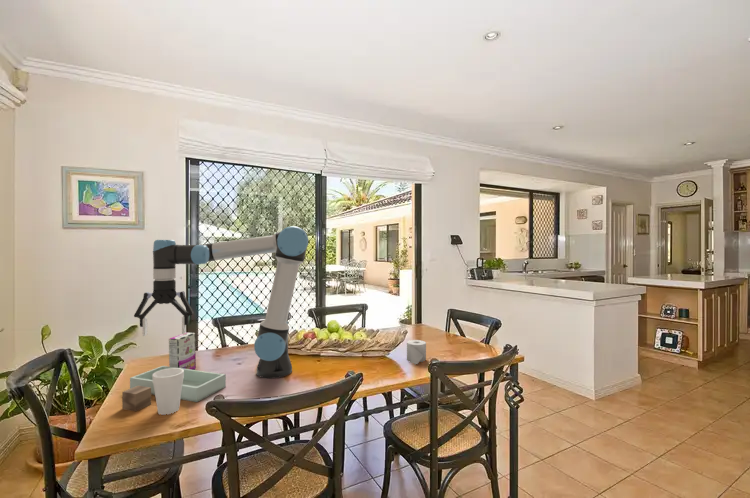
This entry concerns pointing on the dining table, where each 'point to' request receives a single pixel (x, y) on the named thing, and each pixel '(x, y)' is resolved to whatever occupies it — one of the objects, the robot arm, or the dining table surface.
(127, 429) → the dining table surface
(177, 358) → the candy bar box
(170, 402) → the foam cup
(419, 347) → the toilet tissue
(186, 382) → the tote
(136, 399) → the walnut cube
